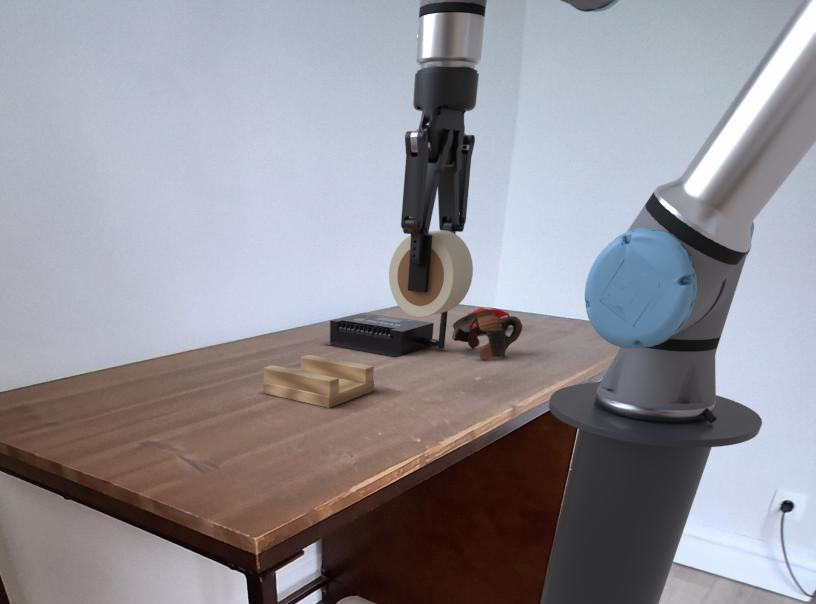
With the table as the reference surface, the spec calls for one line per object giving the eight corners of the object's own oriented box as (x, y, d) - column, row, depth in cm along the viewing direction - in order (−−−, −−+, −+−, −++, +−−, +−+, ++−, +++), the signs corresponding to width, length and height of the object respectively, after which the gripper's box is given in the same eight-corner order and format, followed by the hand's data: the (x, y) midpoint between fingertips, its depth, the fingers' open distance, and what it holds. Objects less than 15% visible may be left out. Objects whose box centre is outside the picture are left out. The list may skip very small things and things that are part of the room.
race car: (470, 337, 131) (472, 314, 129) (449, 332, 134) (452, 310, 132) (513, 328, 138) (516, 307, 135) (493, 324, 141) (495, 303, 139)
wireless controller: (324, 344, 124) (323, 237, 114) (367, 332, 133) (370, 232, 123) (414, 360, 114) (423, 244, 104) (455, 346, 123) (466, 239, 113)
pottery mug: (466, 365, 114) (454, 316, 112) (455, 378, 123) (443, 332, 122) (534, 344, 113) (522, 294, 112) (517, 358, 123) (506, 312, 121)
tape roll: (468, 315, 93) (477, 232, 87) (448, 321, 90) (457, 234, 84) (407, 307, 98) (412, 228, 92) (386, 313, 94) (390, 230, 89)
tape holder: (373, 390, 98) (374, 366, 96) (329, 408, 91) (329, 381, 89) (310, 378, 104) (309, 354, 102) (263, 393, 97) (262, 367, 95)
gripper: (456, 77, 86) (438, 279, 100) (376, 61, 74) (368, 293, 88) (510, 74, 83) (484, 283, 96) (435, 56, 71) (418, 299, 84)
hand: (429, 288), depth 92 cm, fingers closed on tape roll, 6 cm apart
